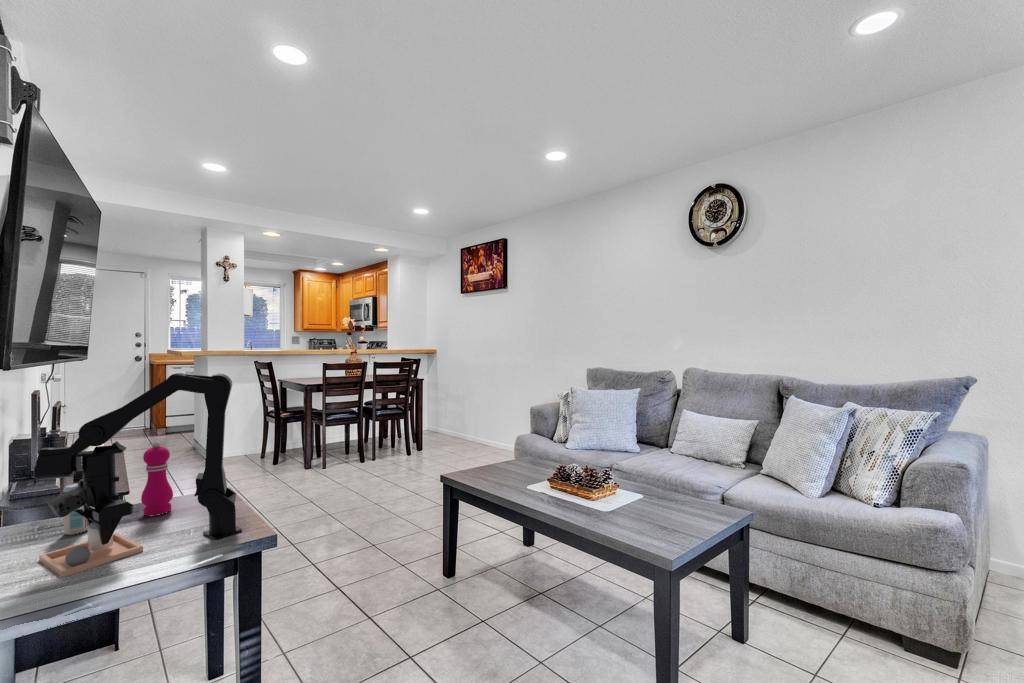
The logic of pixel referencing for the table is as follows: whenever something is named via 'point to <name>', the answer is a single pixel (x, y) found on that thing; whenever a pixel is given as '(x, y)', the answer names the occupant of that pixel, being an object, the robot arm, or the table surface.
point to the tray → (97, 557)
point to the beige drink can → (74, 518)
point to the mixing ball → (77, 556)
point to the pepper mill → (156, 481)
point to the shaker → (96, 538)
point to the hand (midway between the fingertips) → (100, 541)
